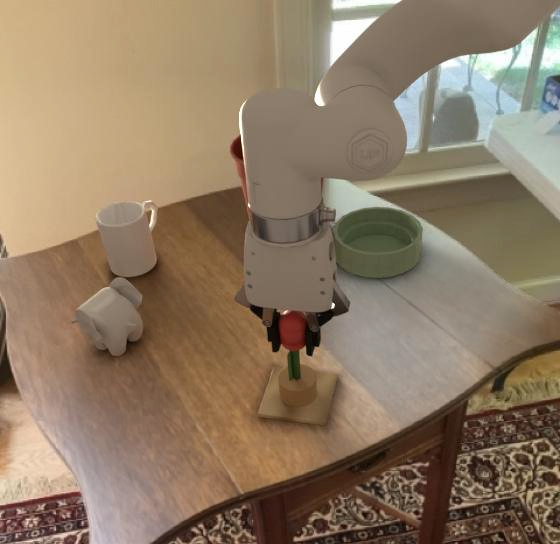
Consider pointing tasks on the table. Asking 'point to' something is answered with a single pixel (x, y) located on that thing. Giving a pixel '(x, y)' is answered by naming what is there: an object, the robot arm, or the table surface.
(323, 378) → the coaster
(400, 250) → the bowl
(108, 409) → the table surface
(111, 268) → the mug
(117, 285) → the elephant figurine
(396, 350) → the table surface
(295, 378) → the tulip
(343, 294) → the robot arm
